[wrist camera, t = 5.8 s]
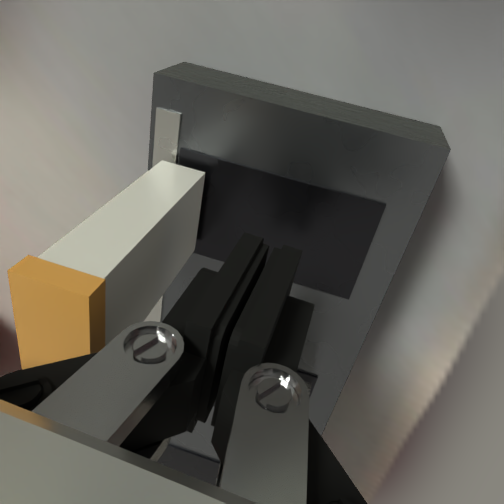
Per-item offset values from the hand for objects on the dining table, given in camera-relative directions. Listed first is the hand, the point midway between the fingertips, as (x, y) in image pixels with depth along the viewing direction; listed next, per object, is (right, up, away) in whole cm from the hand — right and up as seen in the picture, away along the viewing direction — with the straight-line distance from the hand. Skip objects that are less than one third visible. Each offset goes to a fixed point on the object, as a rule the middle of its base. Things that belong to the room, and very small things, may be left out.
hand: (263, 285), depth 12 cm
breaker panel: (-1, -3, +9) cm, 10 cm away
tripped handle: (-3, +3, +3) cm, 5 cm away
